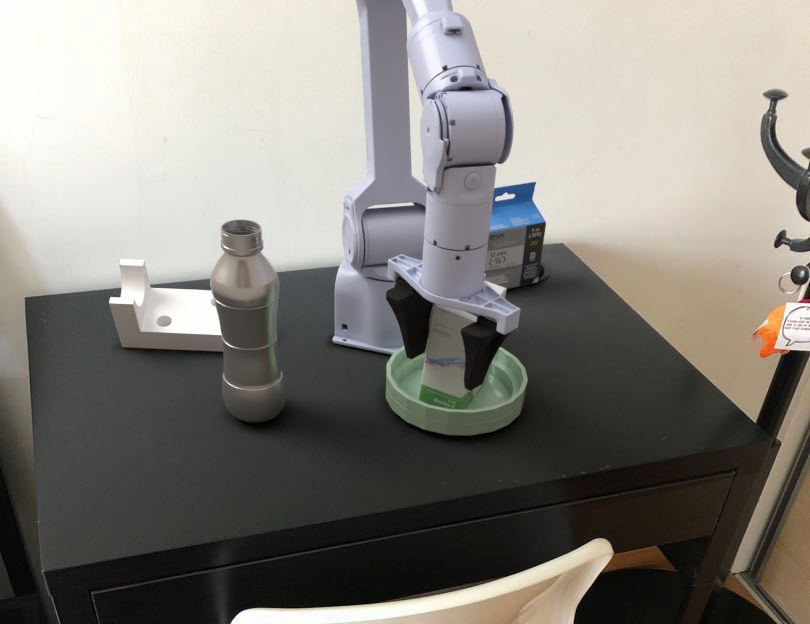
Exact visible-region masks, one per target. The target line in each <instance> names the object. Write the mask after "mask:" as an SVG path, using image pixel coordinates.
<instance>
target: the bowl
mask: <svg viewBox="0 0 810 624" xmlns="http://www.w3.org/2000/svg"><path fill="white" fill-rule="evenodd" d="M427 343H428V339H427ZM426 349H427V345H426ZM426 349H425V353H423V354H421V355H419V356H417V357H415V358H413V359H409V358H407V356H406V352H405V347H404V346H403V347H401V348H400V349H398V350H397V351H396V352H394V353H393V354H392V355H391V356H390V358H389V359H388V360H387V362H386V365H385V366H386V367H385V400H386V402H387V403H388V406H389V407H390V408H391V411H392V412H394V413H395V414H396V415H397V416H399V417H400V418H401V419H402V420H404V422H406V423H408V424H410V425H412V426H415V427H416V428H419V429H422V430H424V431H428V432H433V433H437V434H442V435H447V436H475V435H481V434H482V435H483V434H488V433H493V432H495V431H497V430H500V429H503V428H504V427H507V426H509V425H510V424H511V423H512V422H513V421H514V420H516V419H517V418H518V417H519V416H520V415H521V414H522V413H521V412H522V410H523V407H524V406H525V401H526V396H527V395H526V394H527V388H528V382H529V380H528V375H527V371H526V367H525V366H524V365H523V363H522V362H521V361H520V359H518V358H517V357H516V356H515V355H514V354H512V353H511V352H509V351H508V350H506V349H505V348H503V347H502V346H500V348H499V349H498V351H497V353H496V355H495V356H494V358H493V360H492V363H491V368H490V372H489V377H488V380H487V381H486V382H485V383H484V385H483V386H482V387H481V389H480V390H479V391H478V392H477V394H476V395H475V396H474V397H473V399H472V400H471V401H470V403H469V404H468V405H467V407H466V408H465V409H447V408H443V407H438V406H433V405H429V404H426V403H424V402H422V401H419V394H420V388H421V381H422V374H423V368H424V362H425V356H426Z"/></svg>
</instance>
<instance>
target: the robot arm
mask: <svg viewBox="0 0 810 624" xmlns="http://www.w3.org/2000/svg"><path fill="white" fill-rule="evenodd" d="M355 3H356V10H357V15H358V24H359V25H358V26H359V42H360V43H359V44H360V45H359V46H360V62H361V63H360V64H361V81H362V82H361V83H362V98H363V99H362V100H363V101H362V102H363V119H364V121H363V122H364V137H365V159H366V174H365V175H364V176H363V177H362V178H361V179H360V180H359V181H358V182H357V183H356V184H355V185H353V187H352V188H351V189H349V191H348V192H347V193H346V195H345V196H344V198H343V199H344V200H343V202H342V206H343V208H342V209H343V210H342V213H343V214H342V215H343V216H342V222H341V237H342V238H341V240H342V246H343V248H342V249H343V252H344V256H345V258H343V260H342V261H341V263H340V265H339V267H338V269H337V273H336V278H335V283H334V336H333V337H332V343H333V344H337V345H343V346H345V347H346V346H347V347H351V348H356V349H362V350H366V351H370V352H371V351H372V352H376V353H381V354H386V355H391V356H392V354H393V353H394V352H396V351H397V350H398V349H400V348H401V347H403V346H404V347H405V352H406V356H407V358H409V359H413V358H415V357H417V356H419V355H421V354H423V353H425V349H426V345H427V339H428V336H429V330H430V321H431V316H432V310H433V307H434V305H435V304H438V305H442V306H446V307H450V308H454V309H458V310H462V311H465V312H467V313H470V314H472V315H474V316H476V317H477V322H473V323H472V324H470V325H468V326H466V327H464V328H462V329H461V336H462V339H463V343H464V349H465V372H464V386H465V388H466V389H467V390H469V391H471V390H473V389H475V388H476V387H478V386H480V385H482V384H483V382H484V379H485V376H486V374H487V371H488V369H489V367H490V364H491V362H492V360H493V358H494V356H495V355H496V353H497V351H498V349H499V348H500V347H502V345H503V343H504V342H505V341H506V339H507V338H508V337H509V335H510V334H511V333H512V332H513V331H514V330H516V329H519V324H520V323H519V322H520V316H521V307H518V306H516V305H515V304H512V302H510V301H508V300H507V299H506V298H505V299H504V298H503V297H502V296H501V295H500V294H499V293H497V292H496V291H495V290H494V289H493V288H492V287H490V286H489V285H488V284H487V283H486V282H484V281H485V280H486V274H485V264H486V255H487V247H488V239H489V230H490V221H491V213H492V204H493V195H494V188H495V186H496V177H497V170H498V169H497V166H496V165H497V164H498V165H503V164H504V163H506V162H507V160H508V158H509V157H510V154H511V151H512V148H513V147H512V146H513V141H514V129H515V128H514V127H515V126H514V114H513V108H512V104H511V98H510V95H509V93H508V92H507V90H506V89H505V88H504V87H502V86H499V85H498V83H497V80H496V79H494V78H490V77H488V76H487V72H486V69H485V67H484V66H485V65H484V62H483V59H482V56H481V53H480V49H479V46H478V44H477V43H478V42H477V40H476V37H475V33H474V30H473V26H472V25H471V22H470V21H469V20H468V18H467V17H466V16H465V15H463V14H462V13H459V12H457V11H454V7H453V1H452V0H355ZM407 17H408V18H407ZM407 19H409V21H410V24H411V26H412V28H411V30H410V32H409V34H408V20H407ZM409 64H410V67H411V71H412V74H413V78H414V81H415V85H416V88H417V92H418V95H419V99H420V103H421V105H422V106H421V107H422V110H421V116H420V117H421V118H420V125H419V130H420V131H419V132H420V144H421V145H420V146H421V150H422V170H421V171H422V180H423V182H424V183H425V184H424V183H423V182H422V181H420V180H419V179H417V178H416V177H415V176H413V174H412V171H413V170H412V145H411V144H412V143H411V139H412V138H411V115H410V114H411V112H410V110H411V109H410V108H411V107H410V83H409V82H410V79H409ZM410 203H412V204H411V205H399V204H410ZM394 204H395V205H396V206H384V205H394ZM382 205H383V206H384V207H383V206H382ZM375 206H382V207H375ZM370 207H372V208H370Z"/></svg>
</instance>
